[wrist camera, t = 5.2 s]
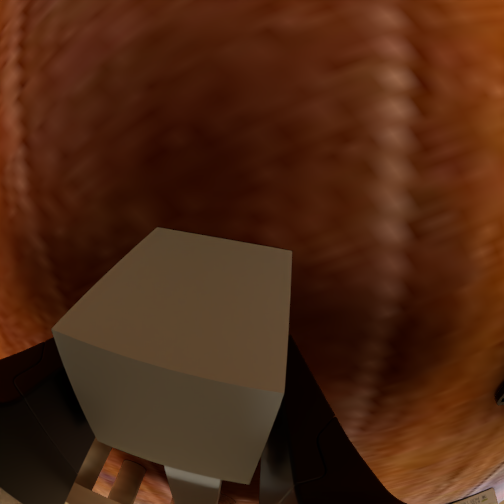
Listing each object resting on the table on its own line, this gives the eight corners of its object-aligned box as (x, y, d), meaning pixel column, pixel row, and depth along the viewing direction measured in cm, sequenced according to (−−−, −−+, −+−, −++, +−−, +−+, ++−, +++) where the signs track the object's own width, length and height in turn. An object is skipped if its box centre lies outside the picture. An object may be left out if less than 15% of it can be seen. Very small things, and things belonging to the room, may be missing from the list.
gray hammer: (292, 251, 9) (283, 392, 4) (230, 494, 17) (218, 549, 13) (157, 227, 9) (51, 329, 4) (178, 482, 17) (161, 536, 13)
